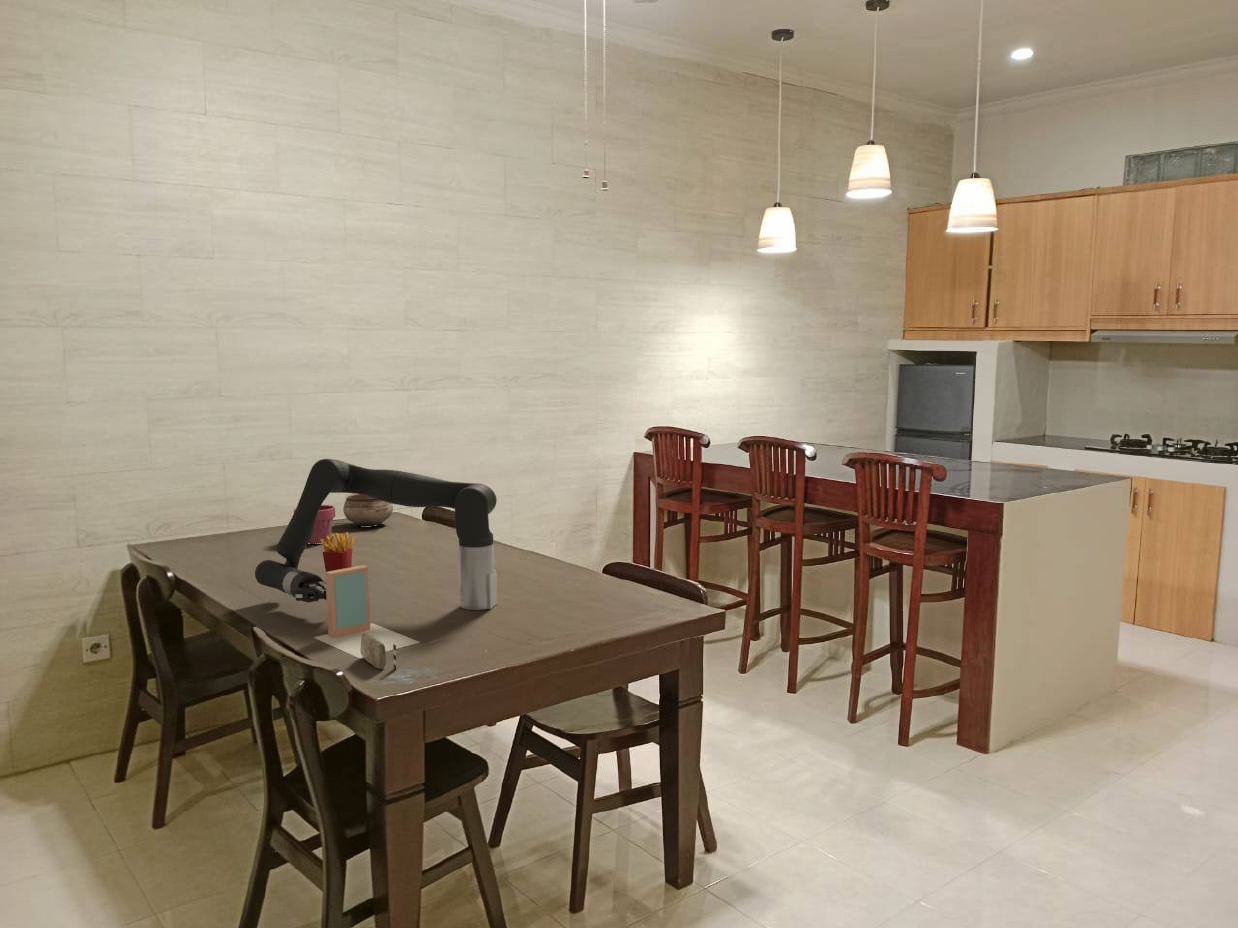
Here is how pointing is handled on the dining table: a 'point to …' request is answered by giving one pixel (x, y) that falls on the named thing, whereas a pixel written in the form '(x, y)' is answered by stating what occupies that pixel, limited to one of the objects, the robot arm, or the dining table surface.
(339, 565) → the french fries
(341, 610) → the tile
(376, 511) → the cooking pot
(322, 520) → the plant pot
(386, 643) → the mat
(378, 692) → the dining table surface
